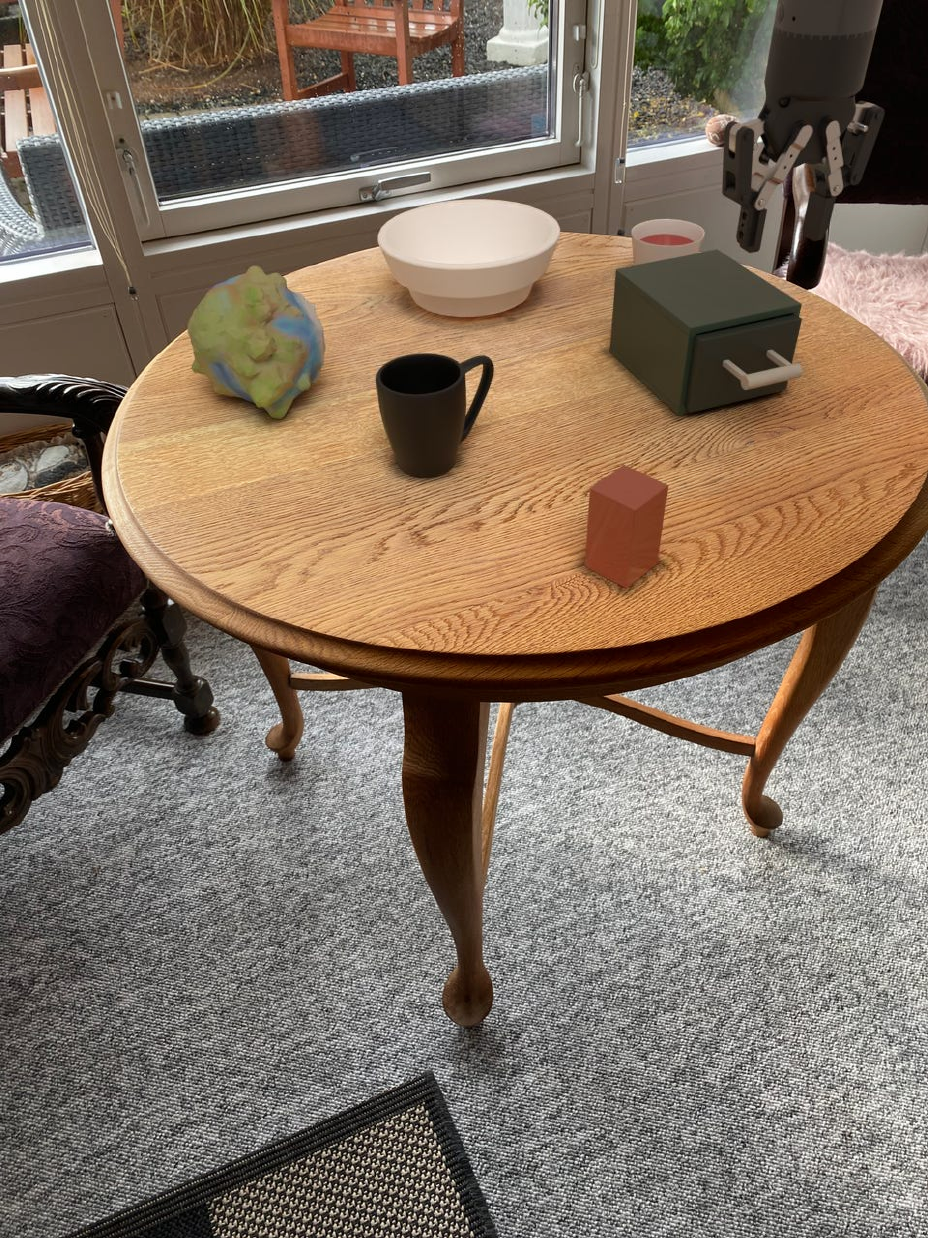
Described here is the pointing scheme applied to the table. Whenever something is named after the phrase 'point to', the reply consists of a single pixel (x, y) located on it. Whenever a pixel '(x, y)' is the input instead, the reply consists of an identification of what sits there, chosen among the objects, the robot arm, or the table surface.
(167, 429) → the table surface
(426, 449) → the mug
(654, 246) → the candle
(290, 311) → the decorative rock
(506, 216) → the bowl
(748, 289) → the cabinet
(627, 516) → the block
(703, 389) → the drawer
